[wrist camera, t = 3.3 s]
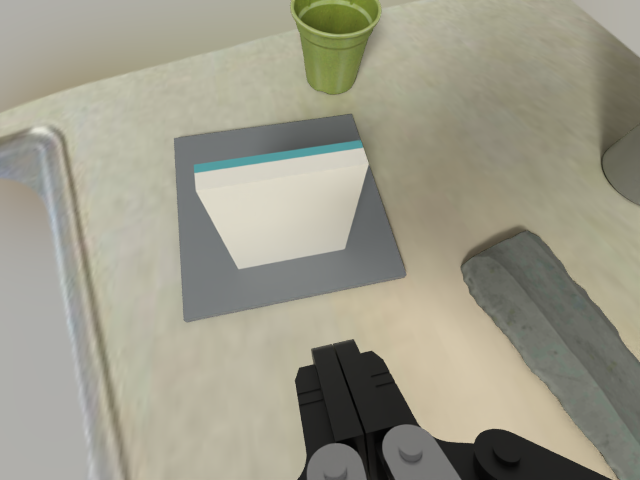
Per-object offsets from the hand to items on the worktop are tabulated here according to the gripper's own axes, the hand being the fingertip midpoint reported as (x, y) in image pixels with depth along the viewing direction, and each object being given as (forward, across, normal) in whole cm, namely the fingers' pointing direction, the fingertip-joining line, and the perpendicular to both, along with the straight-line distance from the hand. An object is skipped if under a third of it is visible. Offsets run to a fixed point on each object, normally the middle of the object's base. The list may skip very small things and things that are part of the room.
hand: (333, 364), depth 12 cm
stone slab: (+11, -23, +15) cm, 29 cm away
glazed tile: (+20, 0, +4) cm, 20 cm away
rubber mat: (+24, 0, 0) cm, 24 cm away
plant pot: (+36, -9, -12) cm, 39 cm away
